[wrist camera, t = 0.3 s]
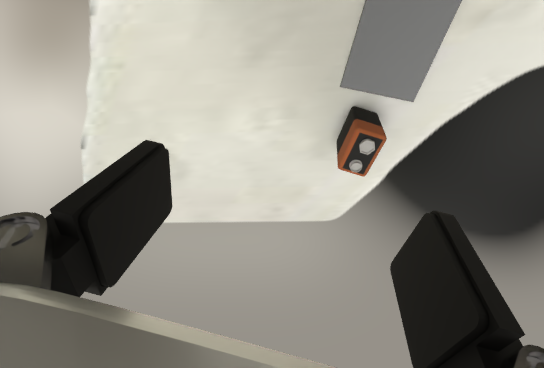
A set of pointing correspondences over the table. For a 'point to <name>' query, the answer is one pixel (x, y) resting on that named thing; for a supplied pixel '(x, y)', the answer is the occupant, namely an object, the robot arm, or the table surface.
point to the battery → (359, 141)
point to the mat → (397, 45)
